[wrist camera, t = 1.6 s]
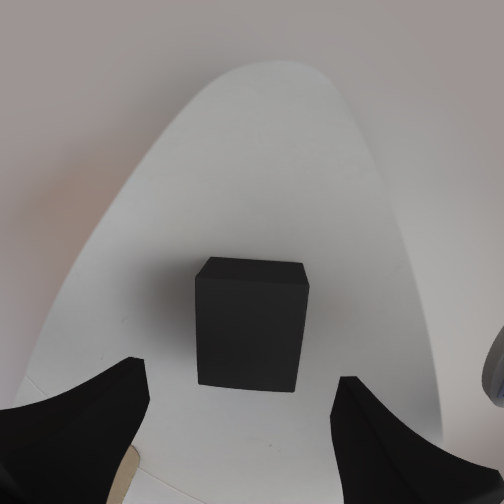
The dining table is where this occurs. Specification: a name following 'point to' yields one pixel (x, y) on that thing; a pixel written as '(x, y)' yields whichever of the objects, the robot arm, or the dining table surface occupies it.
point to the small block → (250, 323)
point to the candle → (124, 476)
